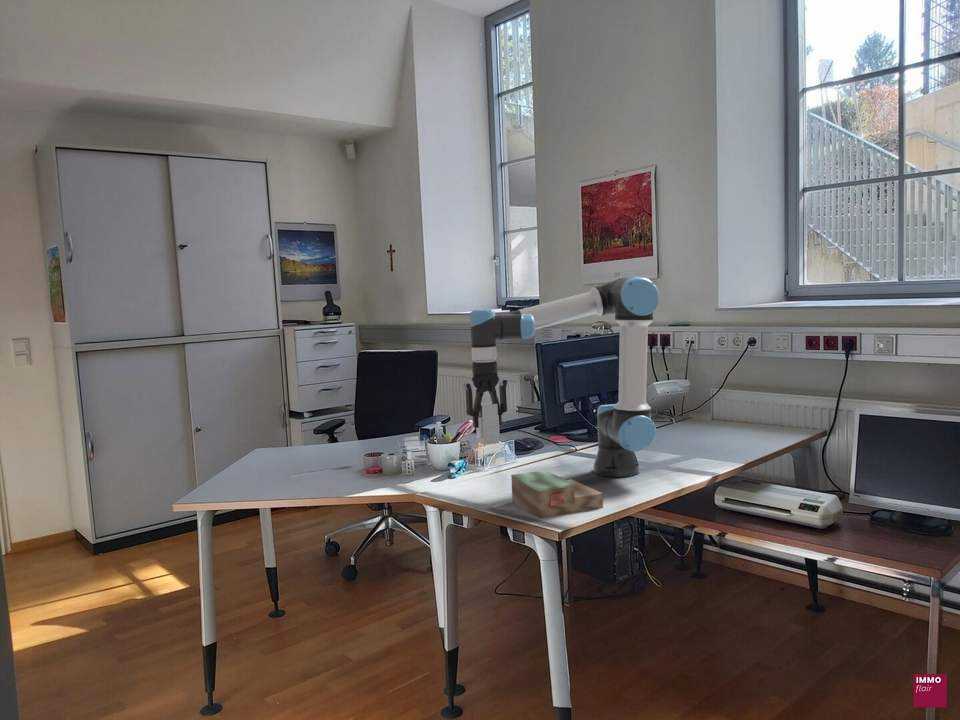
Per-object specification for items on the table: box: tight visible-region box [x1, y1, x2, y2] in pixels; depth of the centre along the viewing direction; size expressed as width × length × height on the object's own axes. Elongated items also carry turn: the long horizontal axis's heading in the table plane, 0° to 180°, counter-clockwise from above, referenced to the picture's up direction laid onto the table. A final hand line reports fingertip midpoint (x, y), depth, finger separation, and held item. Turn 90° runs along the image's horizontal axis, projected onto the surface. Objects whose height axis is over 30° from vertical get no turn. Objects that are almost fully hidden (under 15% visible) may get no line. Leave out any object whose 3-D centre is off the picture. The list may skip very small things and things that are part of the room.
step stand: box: [510, 469, 604, 519], centre depth 209 cm, size 20×19×8 cm
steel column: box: [477, 401, 500, 446], centre depth 221 cm, size 5×5×12 cm
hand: (488, 436), depth 221 cm, fingers closed on steel column, 5 cm apart
